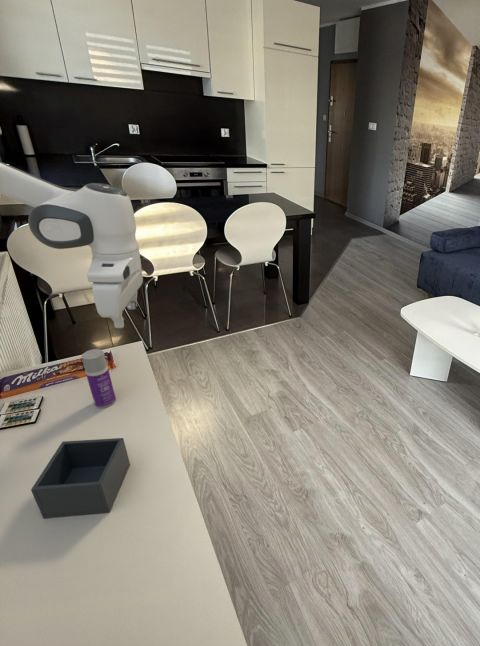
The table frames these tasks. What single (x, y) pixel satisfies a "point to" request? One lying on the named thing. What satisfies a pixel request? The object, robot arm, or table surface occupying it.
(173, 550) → the table surface
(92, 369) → the container
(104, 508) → the bin
